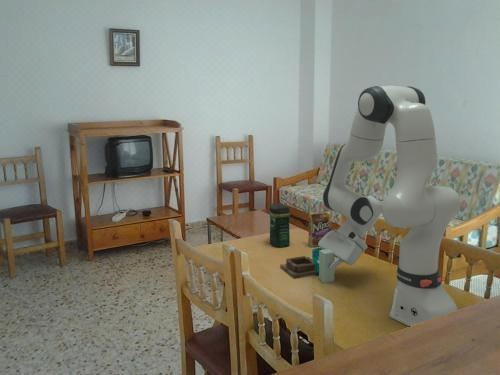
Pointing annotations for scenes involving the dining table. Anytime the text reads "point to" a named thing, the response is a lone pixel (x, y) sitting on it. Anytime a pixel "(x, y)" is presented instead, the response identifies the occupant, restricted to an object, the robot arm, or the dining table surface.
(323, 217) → the candy box
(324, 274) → the sage block
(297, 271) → the walnut cradle
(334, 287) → the dining table surface
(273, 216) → the coffee jar
